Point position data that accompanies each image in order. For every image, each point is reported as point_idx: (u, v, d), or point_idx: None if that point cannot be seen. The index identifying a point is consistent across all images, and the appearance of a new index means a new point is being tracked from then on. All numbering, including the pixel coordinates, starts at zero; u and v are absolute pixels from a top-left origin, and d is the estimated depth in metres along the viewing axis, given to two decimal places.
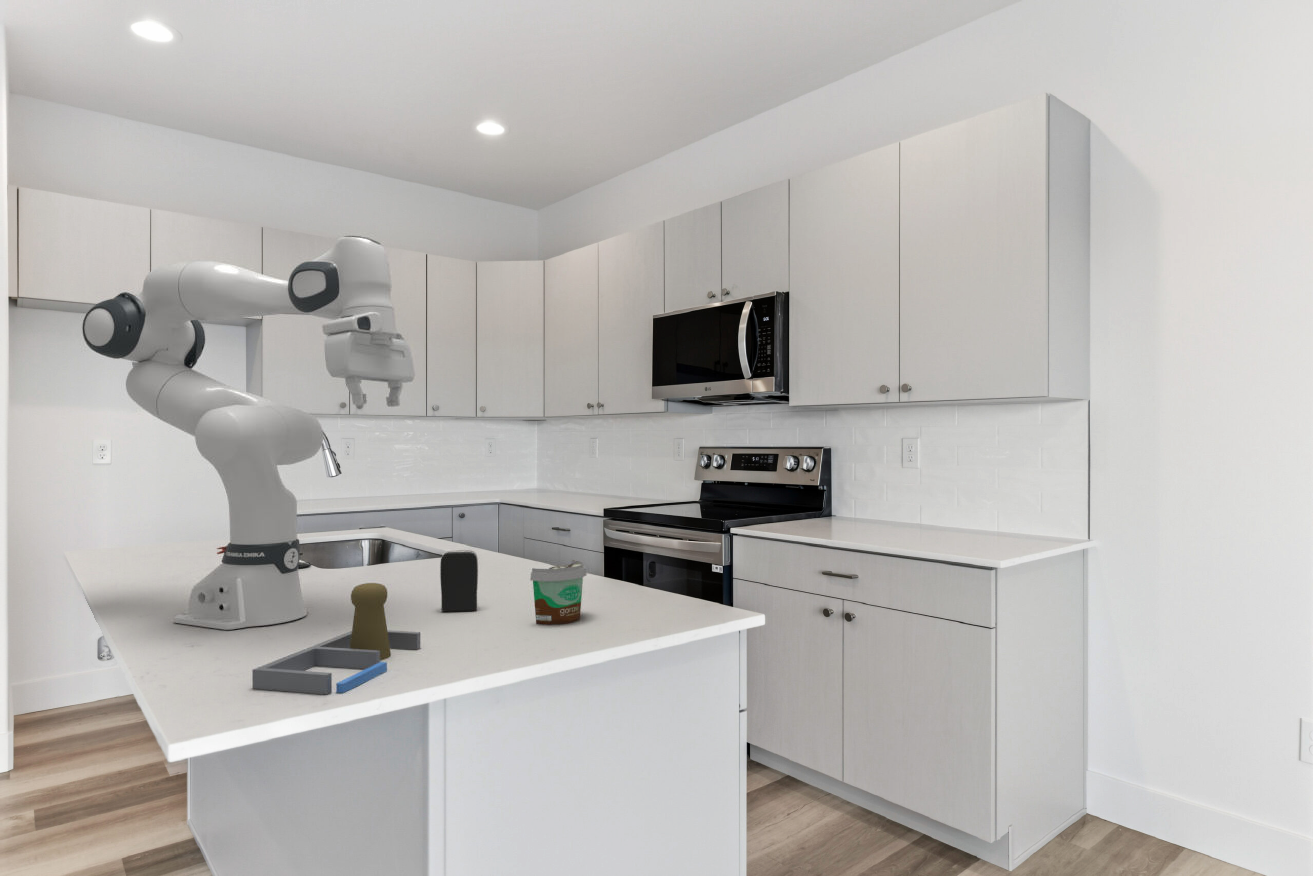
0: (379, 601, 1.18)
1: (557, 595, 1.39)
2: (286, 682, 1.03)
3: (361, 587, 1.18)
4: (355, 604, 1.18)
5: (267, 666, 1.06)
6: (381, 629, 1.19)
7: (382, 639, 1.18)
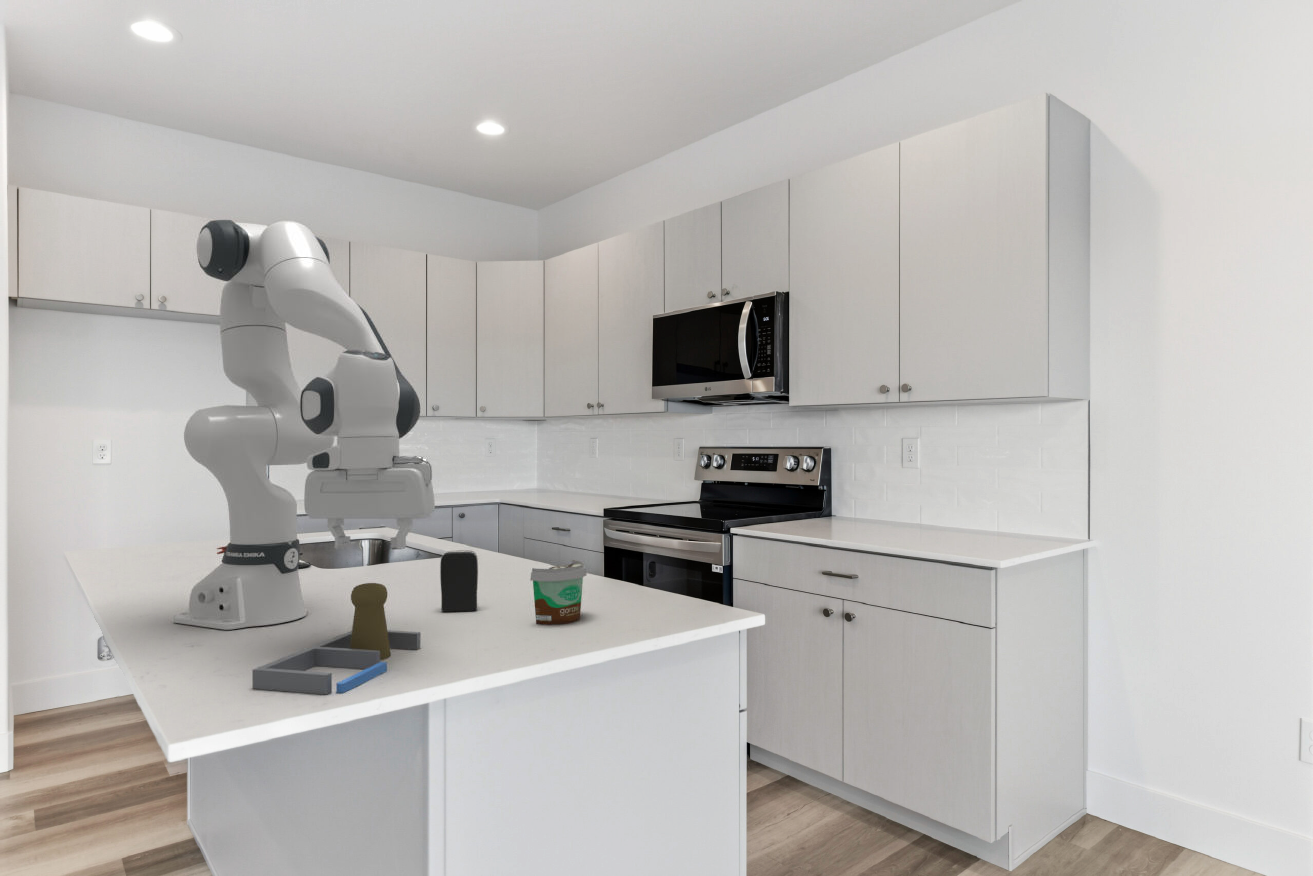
0: (379, 601, 1.18)
1: (557, 595, 1.39)
2: (286, 682, 1.03)
3: (361, 587, 1.18)
4: (355, 604, 1.18)
5: (267, 666, 1.06)
6: (381, 629, 1.19)
7: (382, 639, 1.18)
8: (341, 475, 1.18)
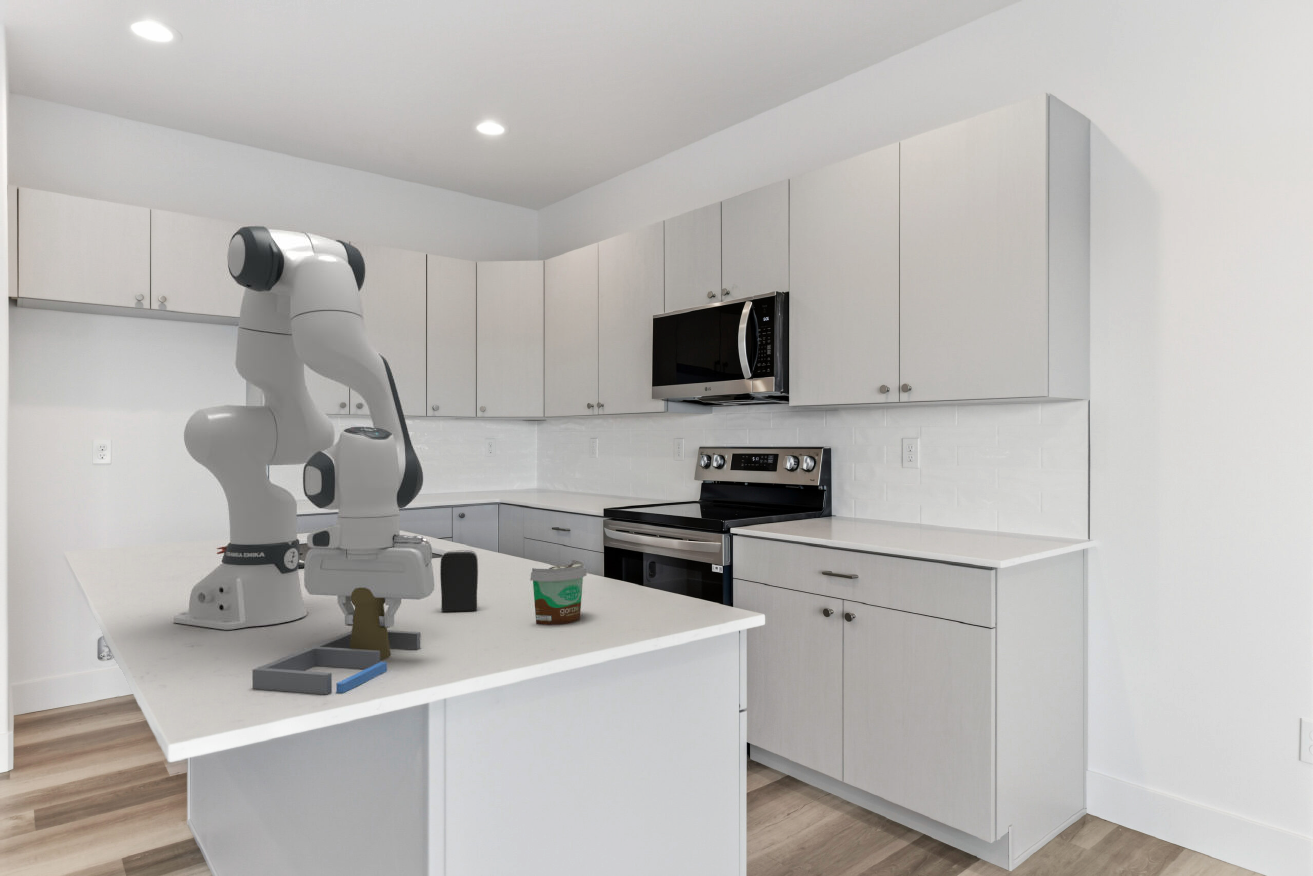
0: (379, 601, 1.18)
1: (557, 595, 1.39)
2: (286, 682, 1.03)
3: None
4: (355, 604, 1.18)
5: (267, 666, 1.06)
6: (381, 629, 1.18)
7: (382, 639, 1.18)
8: (341, 553, 1.18)
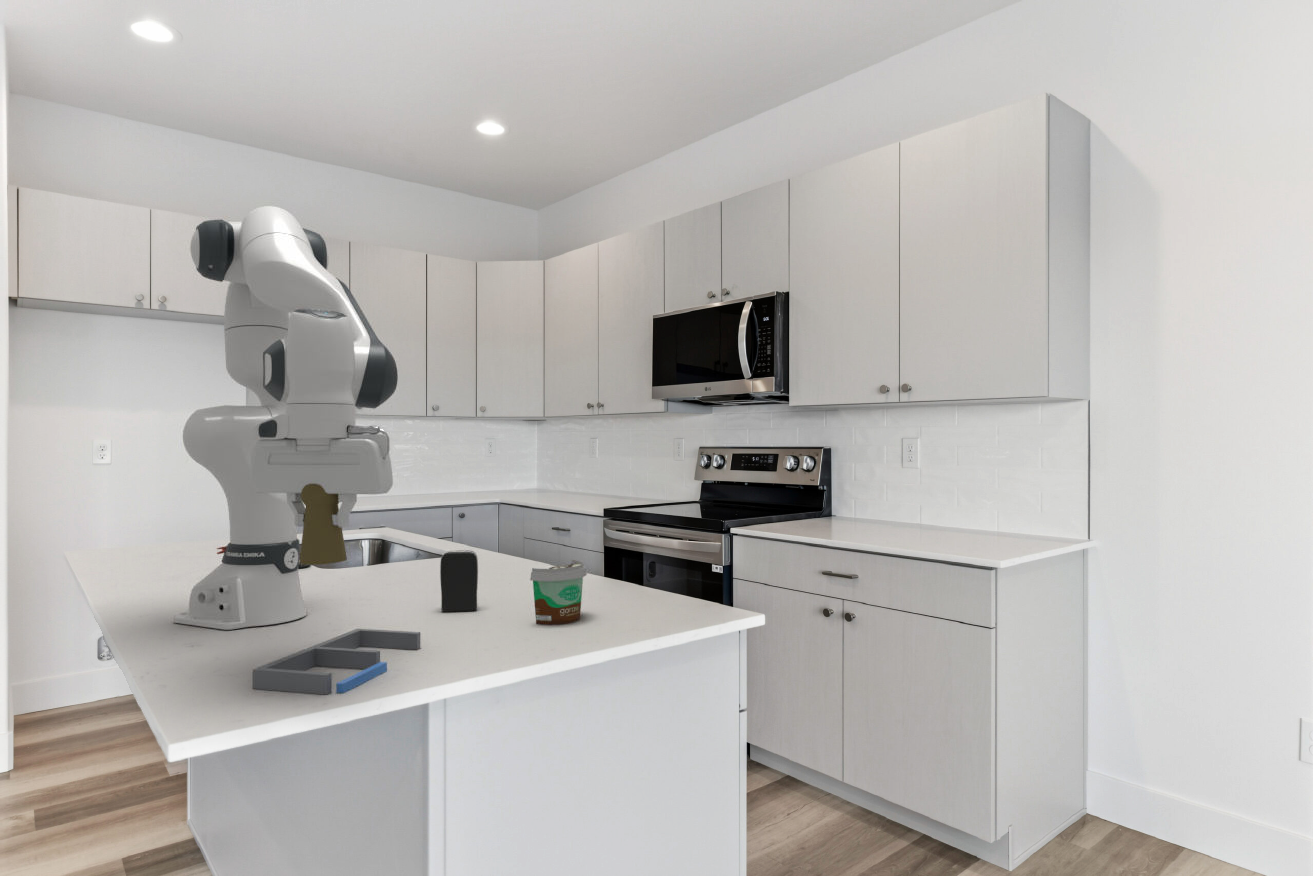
0: (332, 498, 1.08)
1: (557, 595, 1.39)
2: (286, 682, 1.03)
3: None
4: (305, 502, 1.07)
5: (267, 666, 1.06)
6: (335, 529, 1.08)
7: (336, 541, 1.08)
8: (290, 445, 1.08)
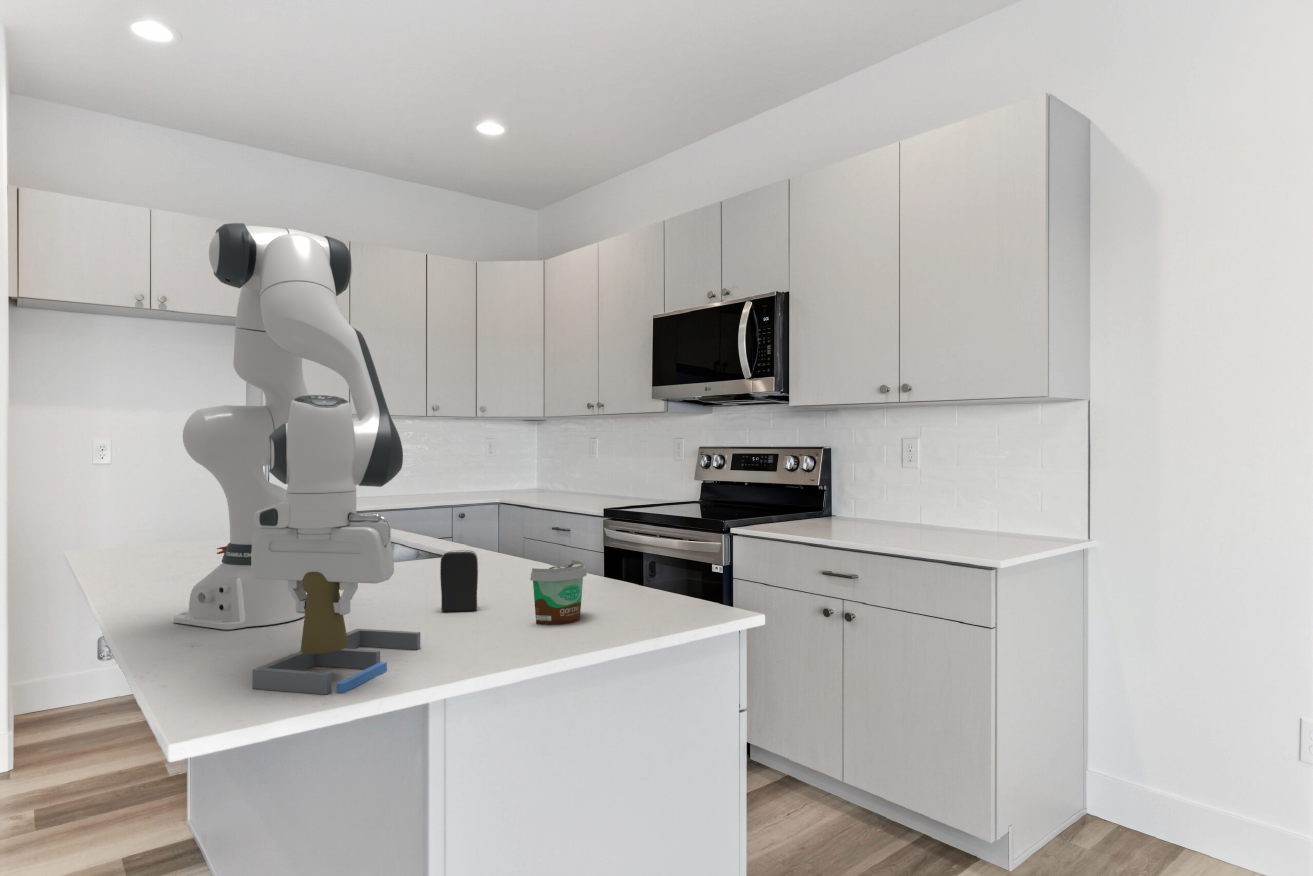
0: (333, 586, 1.07)
1: (557, 595, 1.39)
2: (286, 682, 1.03)
3: None
4: (306, 590, 1.07)
5: (267, 666, 1.06)
6: (336, 617, 1.08)
7: (337, 628, 1.08)
8: (291, 533, 1.07)
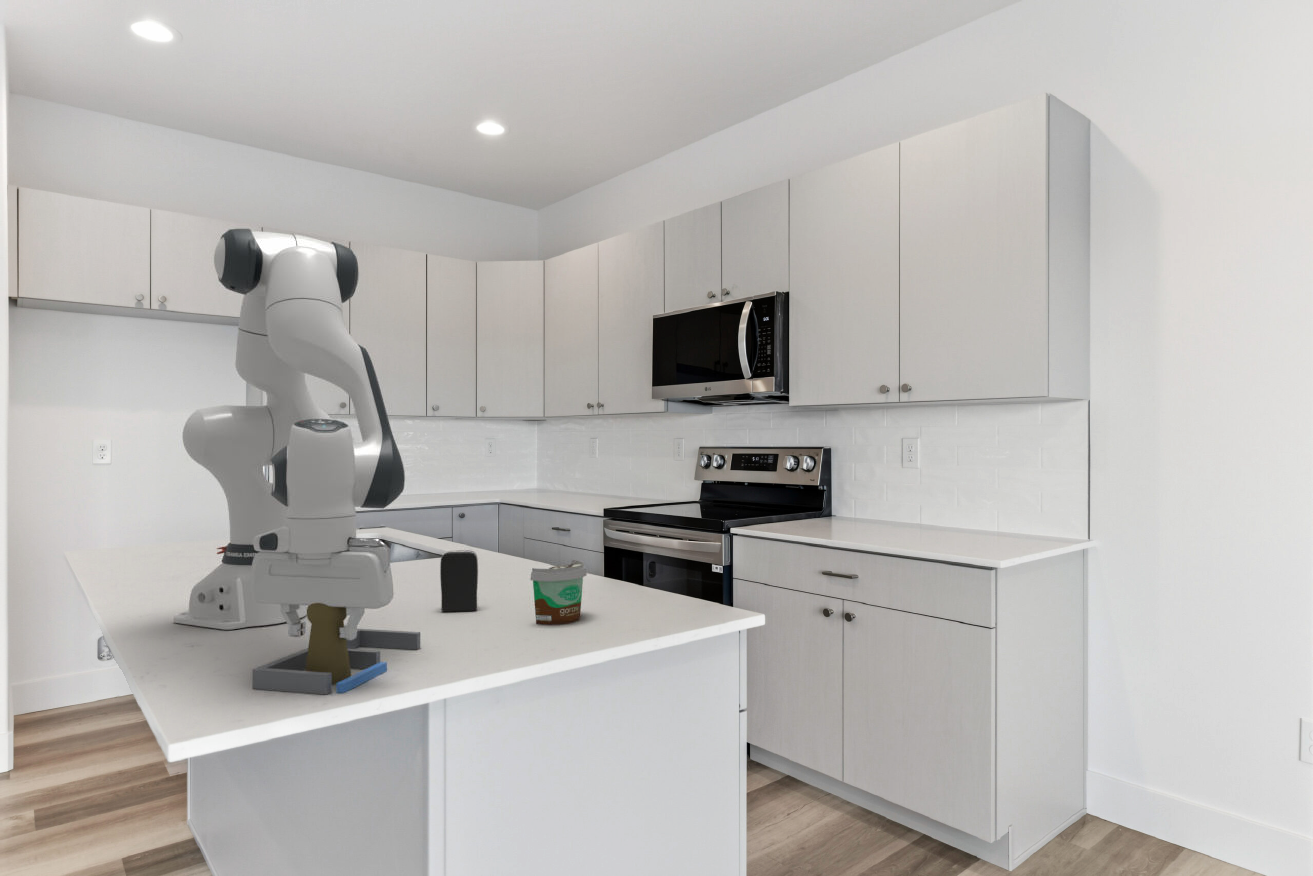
0: (338, 617, 1.07)
1: (557, 595, 1.39)
2: (286, 682, 1.03)
3: None
4: (311, 621, 1.07)
5: (267, 666, 1.06)
6: (340, 648, 1.08)
7: (341, 660, 1.08)
8: (291, 558, 1.08)
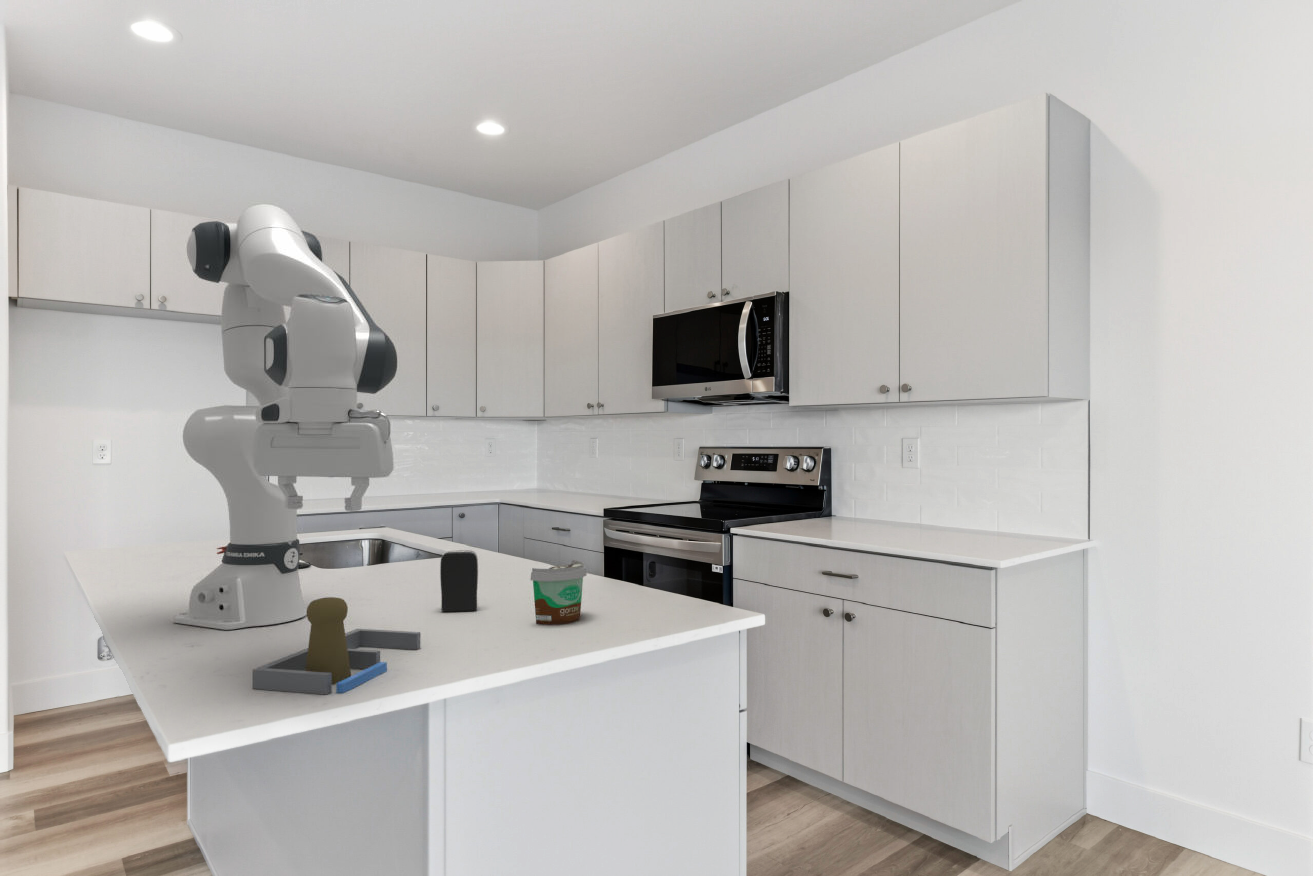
0: (338, 617, 1.07)
1: (557, 595, 1.39)
2: (286, 682, 1.03)
3: (318, 602, 1.07)
4: (311, 621, 1.07)
5: (267, 666, 1.06)
6: (340, 648, 1.08)
7: (341, 660, 1.08)
8: (292, 429, 1.09)
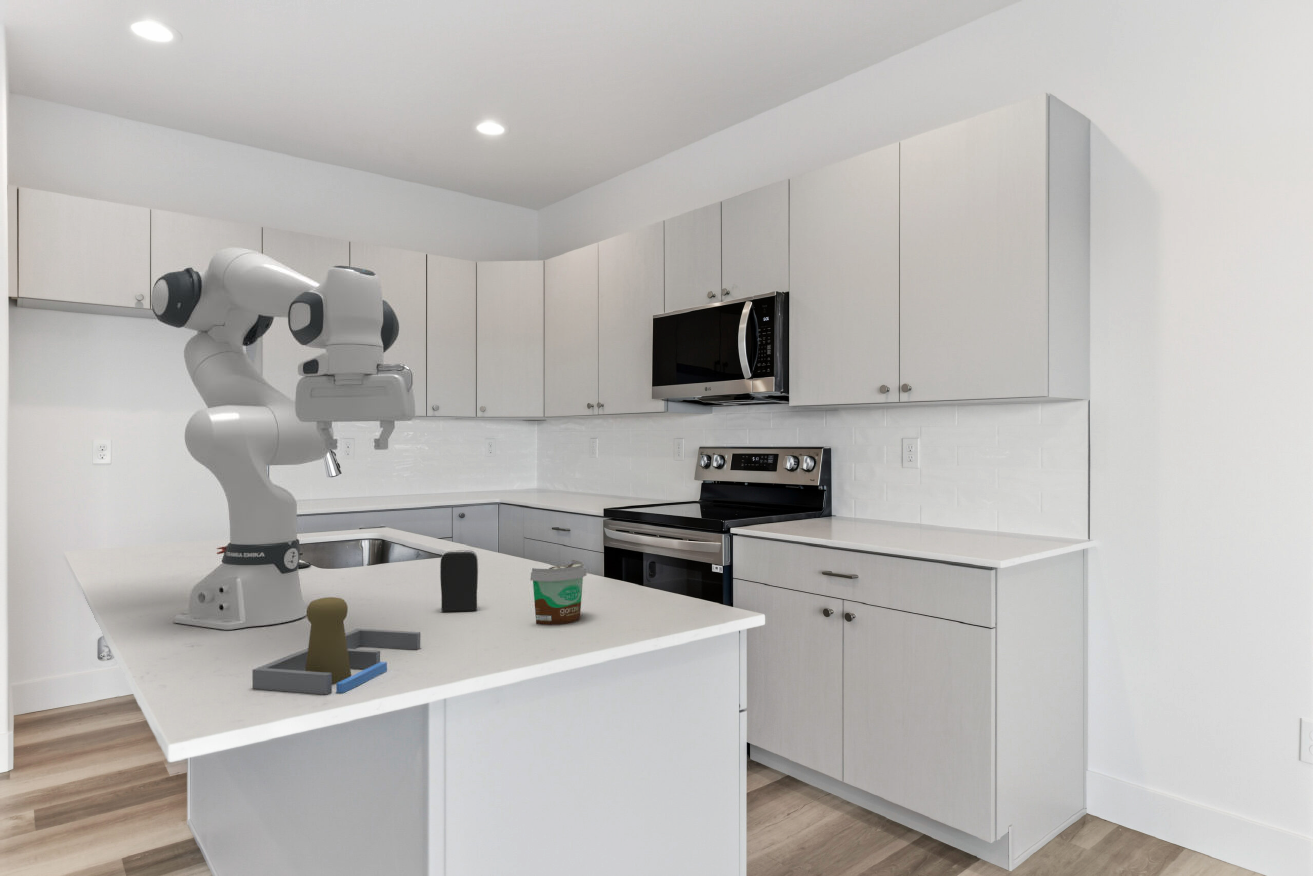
0: (338, 617, 1.07)
1: (557, 595, 1.39)
2: (286, 682, 1.03)
3: (318, 602, 1.07)
4: (311, 621, 1.07)
5: (267, 666, 1.06)
6: (340, 648, 1.08)
7: (341, 660, 1.08)
8: (329, 380, 1.28)
